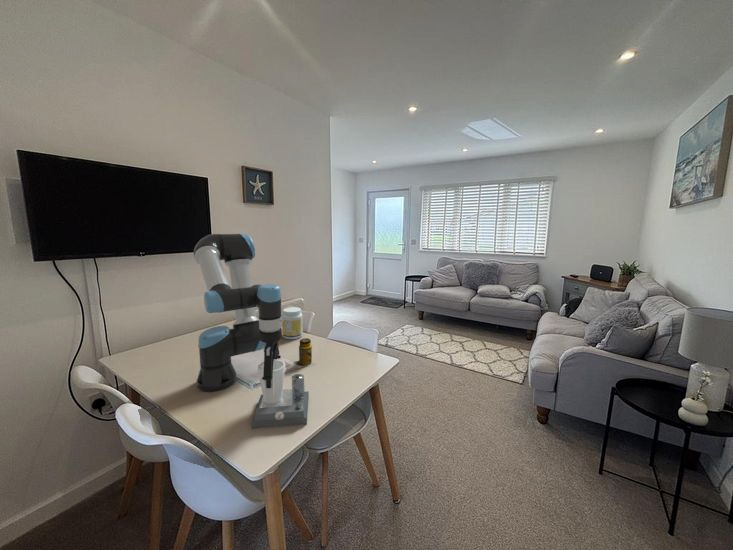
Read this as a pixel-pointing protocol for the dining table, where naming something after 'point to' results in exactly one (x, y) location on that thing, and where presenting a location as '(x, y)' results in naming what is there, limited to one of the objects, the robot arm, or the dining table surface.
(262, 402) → the scale weighing pan
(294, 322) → the supplement tub
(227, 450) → the dining table surface
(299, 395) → the cylinder
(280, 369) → the foam cup
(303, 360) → the condiment
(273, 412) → the scale base
